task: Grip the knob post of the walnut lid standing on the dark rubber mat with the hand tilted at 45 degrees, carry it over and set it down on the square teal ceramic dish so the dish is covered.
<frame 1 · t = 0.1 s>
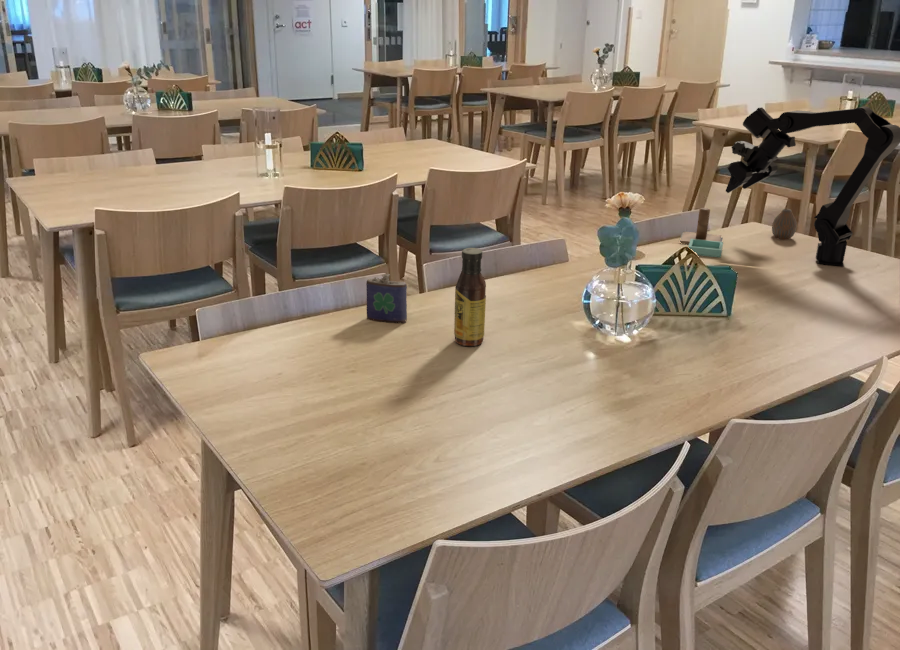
hand: (735, 189, 239), 15 cm above the table, tool tilted 35°, fingers open, 9 cm apart
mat: (700, 241, 240), on the table
sauce bottle: (469, 343, 167), on the table
dish: (704, 252, 230), on the table
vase: (782, 238, 246), on the table
flask: (386, 321, 178), on the table
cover: (700, 240, 240), resting on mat
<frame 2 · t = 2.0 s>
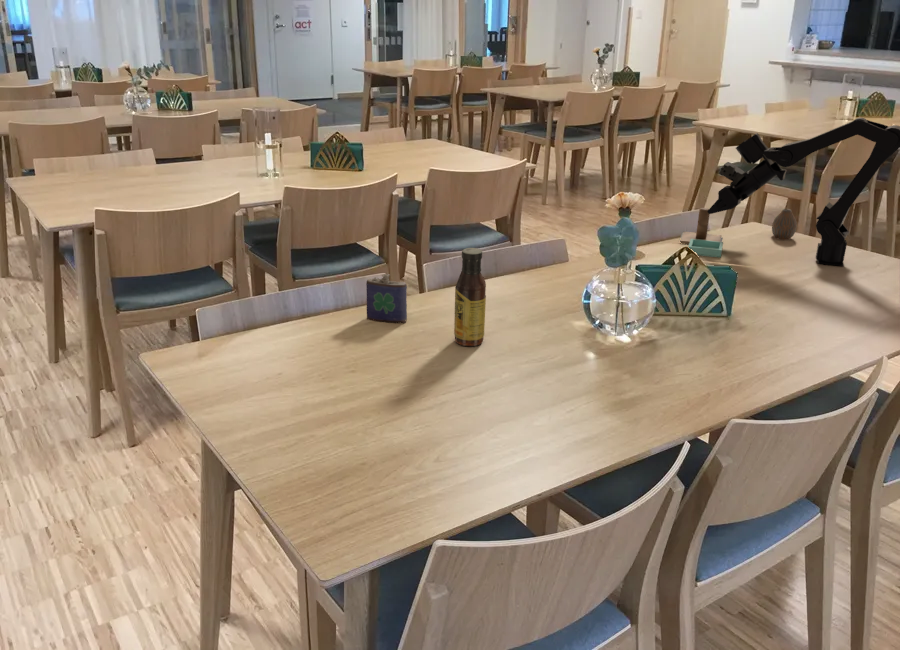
hand: (712, 209, 235), 10 cm above the table, tool tilted 45°, fingers open, 9 cm apart
nothing on the table moved.
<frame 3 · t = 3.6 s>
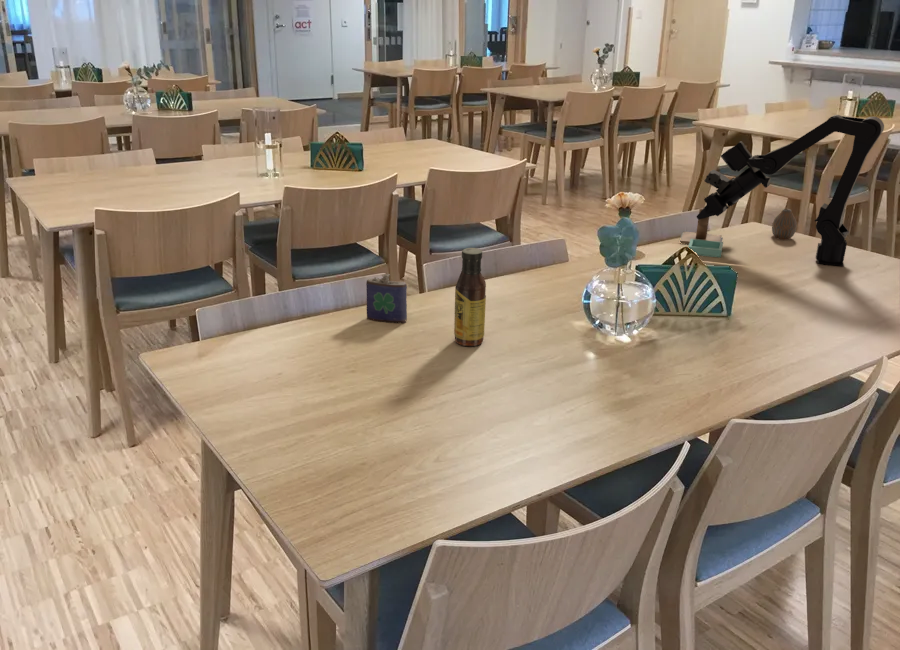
hand: (699, 216, 238), 7 cm above the table, tool tilted 45°, fingers closed on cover, 3 cm apart
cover: (700, 240, 240), resting on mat, touching gripper
everything else where it was.
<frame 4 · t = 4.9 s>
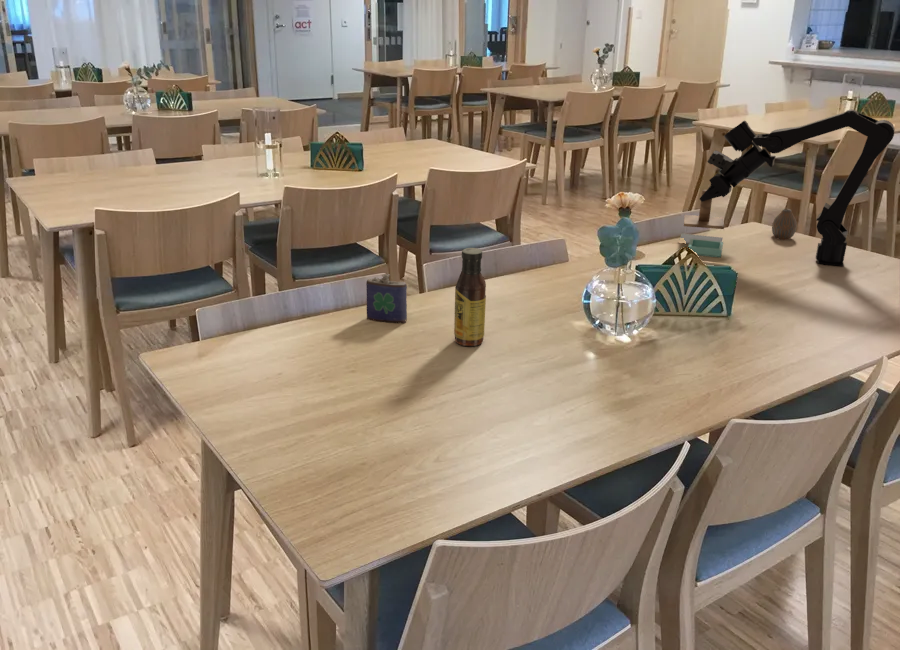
hand: (701, 199, 233), 13 cm above the table, tool tilted 45°, fingers closed on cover, 3 cm apart
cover: (703, 223, 235), point 6 cm above the table, touching gripper
everything else where it was.
when the fingers open (10 cm above the table, at t = 6.5 s): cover stays where it is, resting on dish.
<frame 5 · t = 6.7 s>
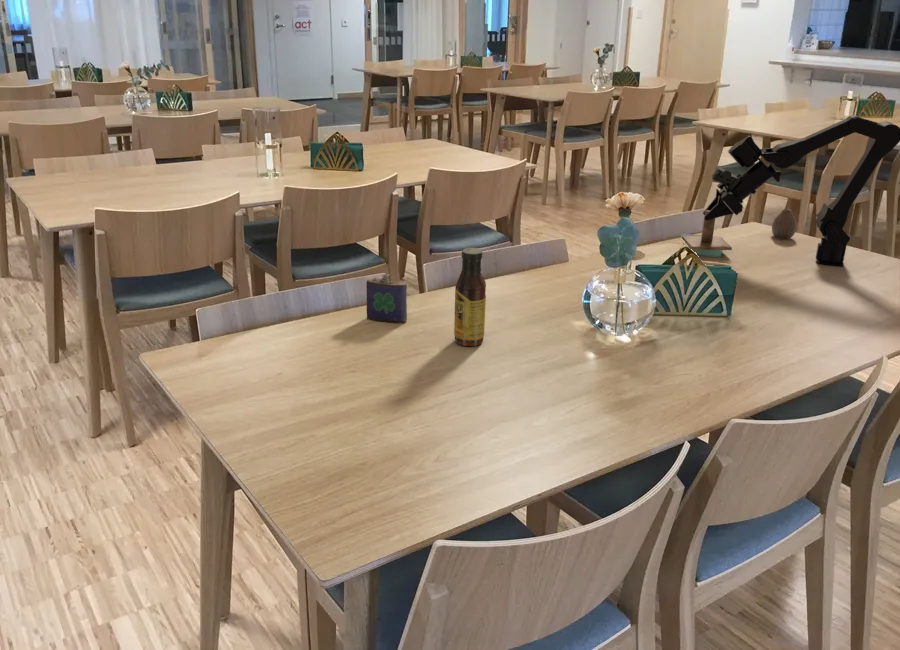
hand: (704, 216, 226), 10 cm above the table, tool tilted 45°, fingers open, 5 cm apart
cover: (706, 244, 229), point 2 cm above the table, touching dish
everything else where it was.
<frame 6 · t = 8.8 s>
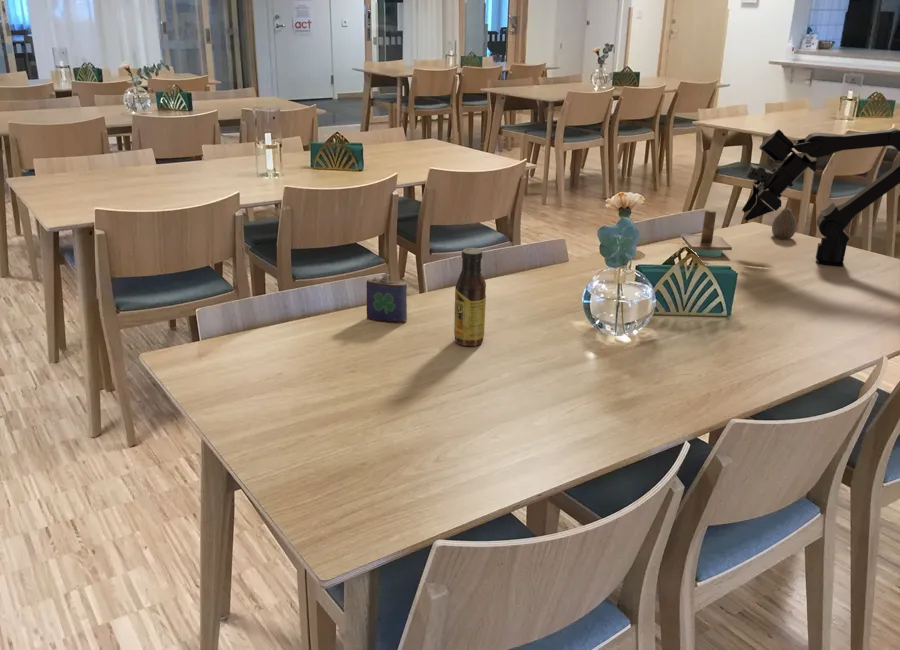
hand: (744, 215, 225), 11 cm above the table, tool tilted 35°, fingers open, 9 cm apart
nothing on the table moved.
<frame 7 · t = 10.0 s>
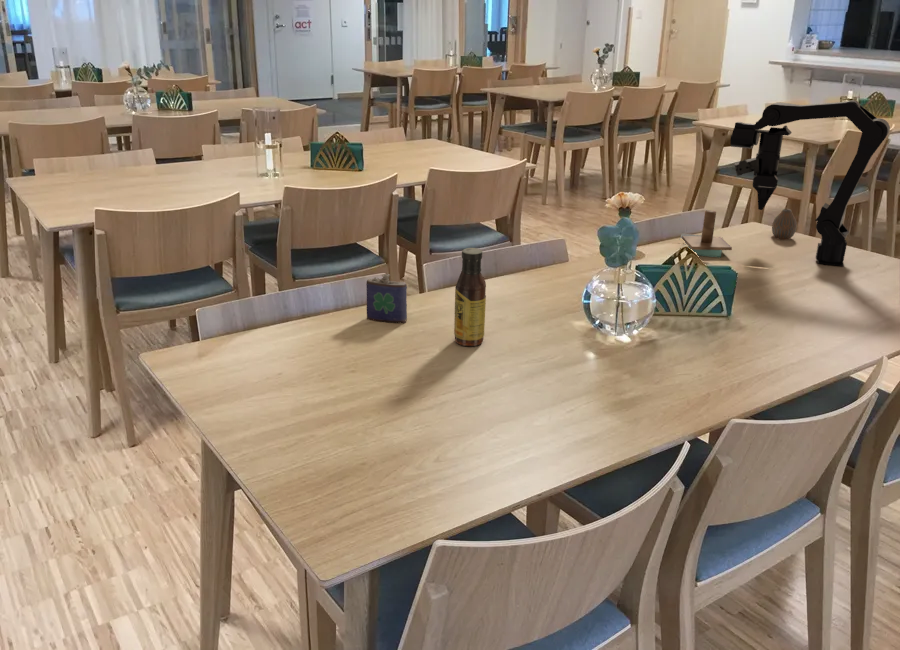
hand: (760, 206, 228), 13 cm above the table, tool pointing down, fingers open, 9 cm apart
nothing on the table moved.
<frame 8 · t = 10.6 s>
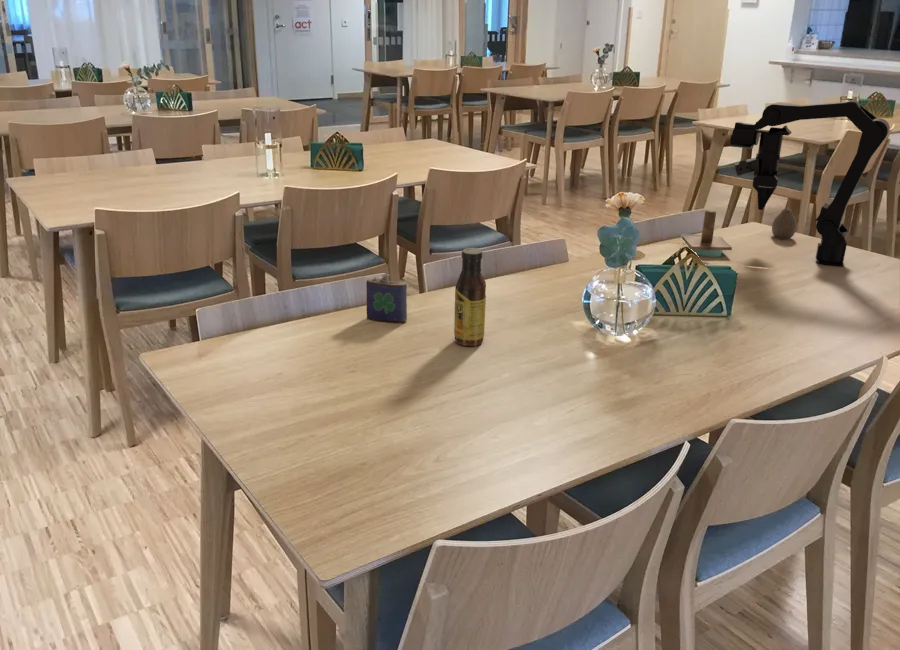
hand: (760, 206, 228), 13 cm above the table, tool pointing down, fingers open, 9 cm apart
nothing on the table moved.
at the end: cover 0.1 cm off-centre on the dish, point 2.5 cm above the dish's base; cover tilted 0°; the gripper is holding nothing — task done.
